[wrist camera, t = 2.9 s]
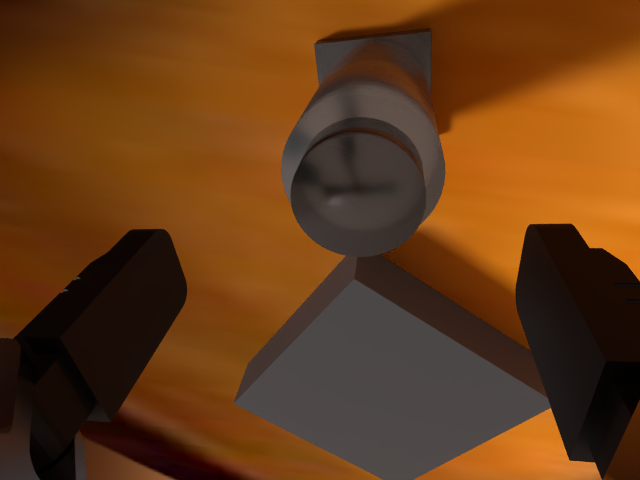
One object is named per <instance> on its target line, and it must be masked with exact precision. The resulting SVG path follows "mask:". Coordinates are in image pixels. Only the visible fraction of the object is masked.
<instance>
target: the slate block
mask: <svg viewBox="0 0 640 480" xmlns="http://www.w3.org/2000/svg"><path fill="white" fill-rule="evenodd" d="M233 404H235V405H237V406H239V407H241V408H243V409H245V410H247V411H249V412H251V413H253V414H255V415H257V416H259V417H261V418H263V419H265V420H267V421H269V422H271V423H273V424H275V425H277V426H279V427H281V428H283V429H285V430H287V431H289V432H291V433H293V434H294V435H296V436H298V437H300V438H302V439H304V440H306V441H308V442H310V443H312V444H314V445H316V446H318V447H320V448H322V449H324V450H326V451H328V452H330V453H332V454H334V455H336V456H338V457H340V458H342V459H344V460H346V461H348V462H350V463H352V464H354V465H356V466H358V467H360V468H362V469H364V470H366V471H368V472H370V473H371V474H373V475H375V476H377V477H379V478H381V479H383V480H413V479H415V478H417V477H419V476H421V475H423V474H425V473H427V472H429V471H430V470H432V469H434V468H436V467H438V466H440V465H442V464H444V463H446V462H448V461H450V460H452V459H453V458H455V457H457V456H459V455H461V454H463V453H465V452H467V451H469V450H471V449H473V448H475V447H476V446H478V445H480V444H482V443H484V442H486V441H488V440H490V439H492V438H494V437H496V436H498V435H499V434H501V433H503V432H505V431H507V430H509V429H511V428H513V427H515V426H517V425H519V424H521V423H522V422H524V421H526V420H528V419H530V418H532V417H534V416H536V415H538V414H540V413H542V412H544V411H545V410H547V409H549V408H551V406H550V403H549V400H548V397H547V395H546V392H545V389H544V386H543V383H542V380H541V378H540V375H539V372H538V369H537V366H536V363H535V360H534V358H533V355H532V352H531V351H530V350H528V349H527V348H525V347H523V346H522V345H520V344H519V343H517V342H516V341H514V340H512V339H511V338H509V337H508V336H506V335H505V334H503V333H502V332H500V331H498V330H497V329H495V328H494V327H492V326H491V325H489V324H487V323H486V322H484V321H483V320H481V319H480V318H478V317H477V316H475V315H473V314H472V313H470V312H469V311H467V310H466V309H464V308H462V307H461V306H459V305H458V304H456V303H455V302H453V301H452V300H450V299H448V298H447V297H445V296H444V295H442V294H441V293H439V292H437V291H436V290H434V289H433V288H431V287H430V286H428V285H427V284H425V283H423V282H422V281H420V280H419V279H417V278H416V277H414V276H412V275H411V274H409V273H408V272H406V271H405V270H403V269H402V268H400V267H398V266H397V265H395V264H394V263H392V262H391V261H389V260H387V259H386V258H384V257H383V256H381V255H380V254H379V255H374V256H367V257H353V256H347V255H346V256H345V258H344V259H343V260H342V261H341V262H340V263H339V264H338V265H337V266H336V267H335V269H334V270H333V271H332V272H331V273H330V274H329V275H328V276H327V277H326V278H325V280H324V281H323V282H322V283H321V284H320V285H319V286H318V287H317V288H316V289H315V291H314V292H313V293H312V294H311V295H310V296H309V297H308V298H307V299H306V301H305V302H304V303H303V304H302V305H301V306H300V307H299V308H298V309H297V310H296V312H295V313H294V314H293V315H292V316H291V317H290V318H289V319H288V320H287V321H286V323H285V324H284V325H283V326H282V327H281V328H280V329H279V330H278V331H277V332H276V334H275V335H274V336H273V337H272V338H271V339H270V340H269V341H268V342H267V344H266V345H265V346H264V347H263V348H262V349H261V350H260V351H259V352H258V353H257V355H256V356H255V357H254V358H253V359H252V360H251V361H250V362H249V363H248V365H247V368H246V370H245V373H244V376H243V379H242V381H241V384H240V387H239V390H238V392H237V395H236V398H235V401H234V403H233Z"/></svg>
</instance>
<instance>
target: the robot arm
mask: <svg viewBox="0 0 640 480" xmlns="http://www.w3.org/2000/svg"><path fill="white" fill-rule="evenodd" d="M186 296H187V284H186V279H185V276H184V274H183V271H182V268H181V265H180V262H179V259H178V256H177V254H176V251H175V248H174V245H173V242H172V239H171V237H170V235H169V233H168V232H167V231H166V230H164V229H134V230H130V231H129V232H128V233H127V234H126V235H125V236H124V237H123V238H122V239H121V240H120V241H119V242H118V243H117V244H116V245H115V246H114V247H113V248H112V249H111V250H110V251H109V252H108V253H106V254H104V255H103V256H101V257H99V258H98V259H96V260H95V261H93V262H91V263H90V264H89V265H88V266H87V267H86V268H85V269H84V270H83V271H82V272H81V273H80V274H79V275H78V276H77V277H76V280H73V281H72V282H71V283H70V284H69V285H68V286H67V287H66V288H65V289H64V292H63V293H59V294H58V295H57V296H56V297H55V298H54V299H53V300H52V301H51V302H50V303H49V304H48V305H47V306H46V307H45V308H44V309H43V310H42V311H41V312H40V313H39V314H38V315H37V316H36V317H35V318H34V319H33V320H32V321H31V322H30V323H29V324H28V325H27V326H26V327H25V328H24V329H23V330H22V331H21V332H20V333H19V334H18V335H17V336H15V337H14V338H13V339H11V338H0V480H86V461H85V444H84V438H83V436H82V434H81V433H80V431H79V430H80V428H81V427H82V425H83V424H84V422H85V421H86V420H89V421H102V422H111V421H112V420H113V418H114V417H115V415H116V413H117V412H118V410H119V409H120V407H121V405H122V404H123V402H124V400H125V399H126V397H127V396H128V394H129V392H130V391H131V389H132V388H133V386H134V384H135V383H136V381H137V380H138V378H139V376H140V375H141V373H142V372H143V370H144V368H145V367H146V365H147V364H148V362H149V360H150V359H151V357H152V356H153V354H154V352H155V351H156V349H157V347H158V346H159V344H160V343H161V341H162V339H163V338H164V336H165V335H166V333H167V331H168V330H169V328H170V327H171V325H172V323H173V322H174V320H175V319H176V317H177V315H178V314H179V312H180V311H181V309H182V307H183V306H184V303H185V300H186ZM516 306H517V311H518V315H519V318H520V320H521V323H522V326H523V329H524V332H525V335H526V338H527V340H528V343H529V346H530V349H531V352H532V355H533V358H534V360H535V363H536V366H537V369H538V372H539V375H540V378H541V380H542V383H543V386H544V389H545V392H546V395H547V397H548V400H549V403H550V406H551V409H552V412H553V415H554V417H555V420H556V423H557V426H558V429H559V432H560V435H561V437H562V440H563V443H564V446H565V449H566V452H567V455H568V457H569V460H571V461H584V462H595V463H596V466H597V468H598V471H599V473H600V476H601V478H602V480H640V281H639V280H638V279H637V277H636V276H635V275H634V273H633V272H632V271H631V270H630V268H629V267H628V266H627V264H625V263H624V262H622V261H621V260H619V259H618V258H616V257H615V256H613V255H612V254H610V253H609V252H607V251H605V250H604V249H602V248H589V247H588V245H587V244H586V242H585V241H584V239H583V238H582V236H581V235H580V234H579V232H578V231H577V229H576V228H575V226H574V225H572V224H530V225H529V226H528V228H527V230H526V233H525V238H524V244H523V249H522V255H521V261H520V266H519V272H518V277H517V283H516Z"/></svg>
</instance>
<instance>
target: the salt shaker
mask: <svg viewBox="0 0 640 480" xmlns="http://www.w3.org/2000/svg"><path fill="white" fill-rule="evenodd" d="M431 38H432V31H431V29H430V28H427V29H418V30H409V31H400V32H391V33H381V34H372V35H363V36H354V37H345V38H336V39H327V40H318V41H317V42H316V43H315V44H314V47H315V55H316V64H317V72H318V80H319V87H318V89H317V91H316V92H315V94H314V96H313V97H312V99H311V101H310V102H309V104H308V106H307V107H306V109H305V111H304V112H303V114H302V116H301V117H300V119H299V121H298V122H297V124H296V126H295V127H294V129H293V131H292V132H291V134H290V136H289V138H288V140H287V142H286V145H285V148H284V152H283V157H282V167H281V173H282V181H283V185H284V189H285V192H286V194H287V197H288V199H289V201H290V203H291V205H292V209H293V213H294V215H295V218H296V220H297V221H298V223H299V225H300V226H301V228H302V229H303V231H304V232H305V233H306V234H307V235H308V236H309V237H310V238H311V239H312V240H314V241H315V242H316V243H318V244H319V245H321V246H322V247H324V248H326V249H328V250H330V251H333V252H335V253H338V254H342V255H347V256H353V257H367V256H374V255H379V254H382V253H386V252H388V251H391V250H393V249H395V248H396V247H398V246H400V245H401V244H403V243H404V242H405V241H407V240H408V239H409V238H410V237H411V236H412V235H413V233H414V232H415V231H416V230H417V228H418V226H419V225H420V224H421V223H422V222H423V221H424V220H425V219H426V218H427V217H428V216H429V215H430V213H431V212H432V211H433V209H434V208H435V206H436V204H437V203H438V200H439V198H440V196H441V193H442V189H443V186H444V180H445V161H444V156H443V151H442V146H441V142H440V138H439V133H438V129H437V124H436V120H435V115H434V111H433V106H432V102H431V97H430V87H431Z"/></svg>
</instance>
